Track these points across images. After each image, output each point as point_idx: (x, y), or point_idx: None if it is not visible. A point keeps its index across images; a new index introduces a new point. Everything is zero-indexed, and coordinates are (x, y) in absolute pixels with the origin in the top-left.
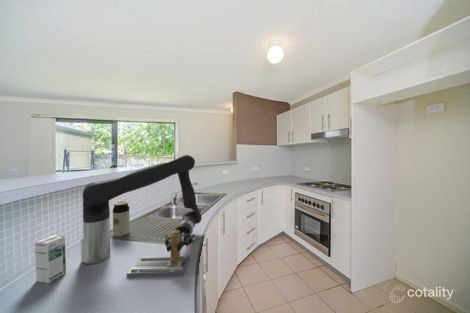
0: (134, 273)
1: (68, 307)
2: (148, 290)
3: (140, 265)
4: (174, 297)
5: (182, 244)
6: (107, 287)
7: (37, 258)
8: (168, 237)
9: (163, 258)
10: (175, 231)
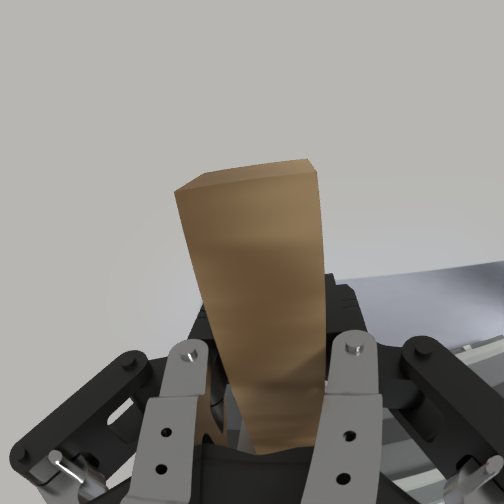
0: (475, 344)
1: (498, 262)
2: None
3: (501, 385)
4: None
5: (194, 337)
6: (498, 307)
7: None
8: (475, 469)
9: (414, 476)
10: (245, 171)
